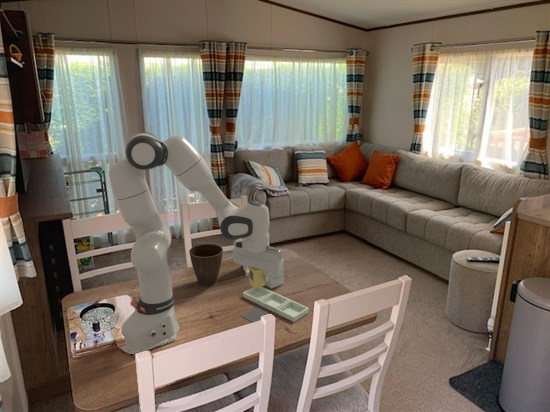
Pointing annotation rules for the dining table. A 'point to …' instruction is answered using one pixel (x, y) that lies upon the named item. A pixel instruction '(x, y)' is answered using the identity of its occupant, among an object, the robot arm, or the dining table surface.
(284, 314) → the tray right
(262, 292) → the tray left
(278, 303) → the tray middle
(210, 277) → the plant pot
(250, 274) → the letter block
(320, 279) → the dining table surface
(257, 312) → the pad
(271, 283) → the supplement box
